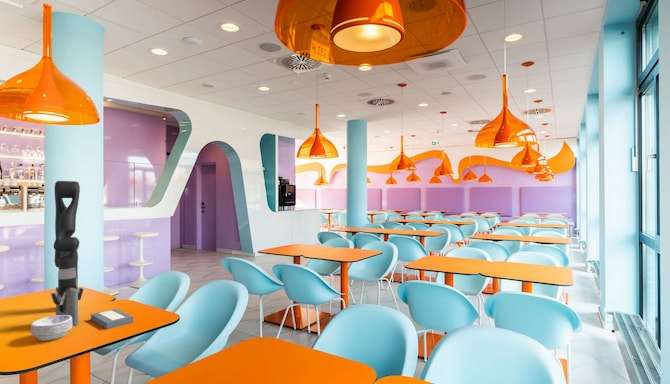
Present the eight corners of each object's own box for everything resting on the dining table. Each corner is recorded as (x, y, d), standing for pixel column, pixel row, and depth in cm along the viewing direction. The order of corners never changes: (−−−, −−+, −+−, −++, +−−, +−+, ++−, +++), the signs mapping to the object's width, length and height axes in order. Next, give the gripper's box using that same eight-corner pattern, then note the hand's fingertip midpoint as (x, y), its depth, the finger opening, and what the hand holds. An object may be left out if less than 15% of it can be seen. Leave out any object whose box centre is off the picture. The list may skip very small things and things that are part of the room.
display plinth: (90, 320, 199) (90, 313, 199) (115, 314, 208) (115, 308, 208) (107, 329, 185) (107, 322, 185) (133, 322, 194) (133, 316, 194)
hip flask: (54, 322, 197) (54, 282, 197) (63, 319, 200) (63, 281, 200) (73, 326, 190) (72, 285, 190) (81, 324, 193) (81, 284, 193)
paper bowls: (24, 345, 166) (24, 327, 166) (40, 333, 181) (40, 316, 181) (64, 341, 170) (64, 323, 171) (77, 329, 185) (77, 313, 185)
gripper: (80, 273, 203) (81, 306, 203) (47, 278, 192) (48, 312, 192) (85, 275, 198) (86, 308, 198) (52, 280, 187) (52, 315, 187)
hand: (67, 310), depth 195 cm, fingers closed on hip flask, 4 cm apart
